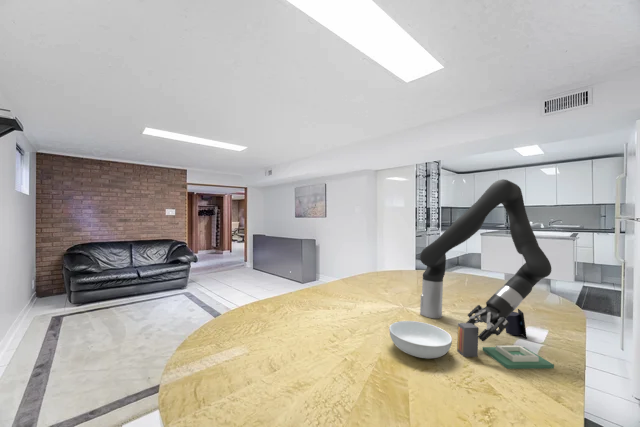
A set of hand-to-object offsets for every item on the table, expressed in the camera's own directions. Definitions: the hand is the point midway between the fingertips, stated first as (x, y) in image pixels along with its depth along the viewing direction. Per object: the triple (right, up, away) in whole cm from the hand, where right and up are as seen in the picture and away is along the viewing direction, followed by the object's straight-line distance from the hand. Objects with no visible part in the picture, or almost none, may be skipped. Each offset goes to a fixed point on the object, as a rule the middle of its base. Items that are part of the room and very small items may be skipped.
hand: (472, 333), depth 98 cm
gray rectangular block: (-2, -7, 0) cm, 7 cm away
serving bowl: (-19, -7, +1) cm, 20 cm away
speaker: (+27, -8, +18) cm, 34 cm away
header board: (+13, -7, -3) cm, 16 cm away
